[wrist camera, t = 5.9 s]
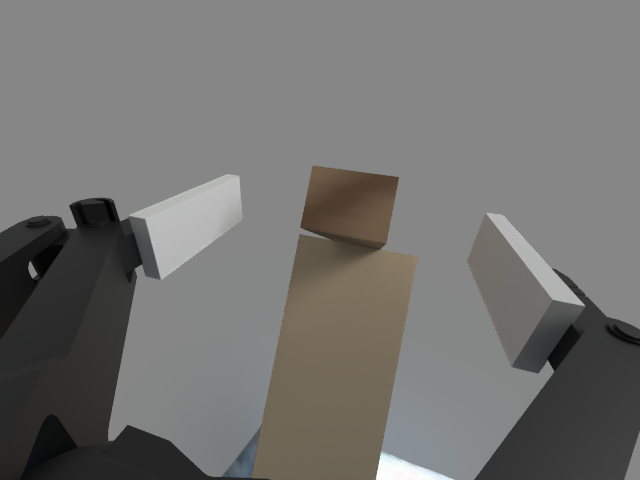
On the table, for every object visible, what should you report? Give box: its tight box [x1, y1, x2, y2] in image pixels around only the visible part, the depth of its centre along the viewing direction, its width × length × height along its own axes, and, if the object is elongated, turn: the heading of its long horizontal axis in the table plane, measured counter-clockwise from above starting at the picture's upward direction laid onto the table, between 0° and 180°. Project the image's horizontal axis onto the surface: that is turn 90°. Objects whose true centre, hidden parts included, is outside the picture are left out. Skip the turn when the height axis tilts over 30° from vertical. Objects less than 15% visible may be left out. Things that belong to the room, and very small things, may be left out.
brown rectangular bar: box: [301, 166, 399, 249], centre depth 26 cm, size 4×27×3 cm, turn 169°
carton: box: [251, 234, 418, 480], centre depth 28 cm, size 10×11×36 cm
